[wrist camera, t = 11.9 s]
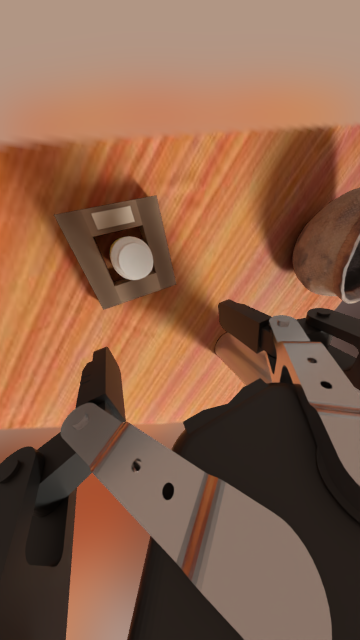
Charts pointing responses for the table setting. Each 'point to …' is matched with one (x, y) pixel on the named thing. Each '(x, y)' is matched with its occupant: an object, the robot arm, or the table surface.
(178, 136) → the table surface
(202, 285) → the table surface
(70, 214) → the socket holder
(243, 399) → the robot arm
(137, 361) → the table surface
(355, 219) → the ceramic bowl
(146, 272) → the supplement bottle
